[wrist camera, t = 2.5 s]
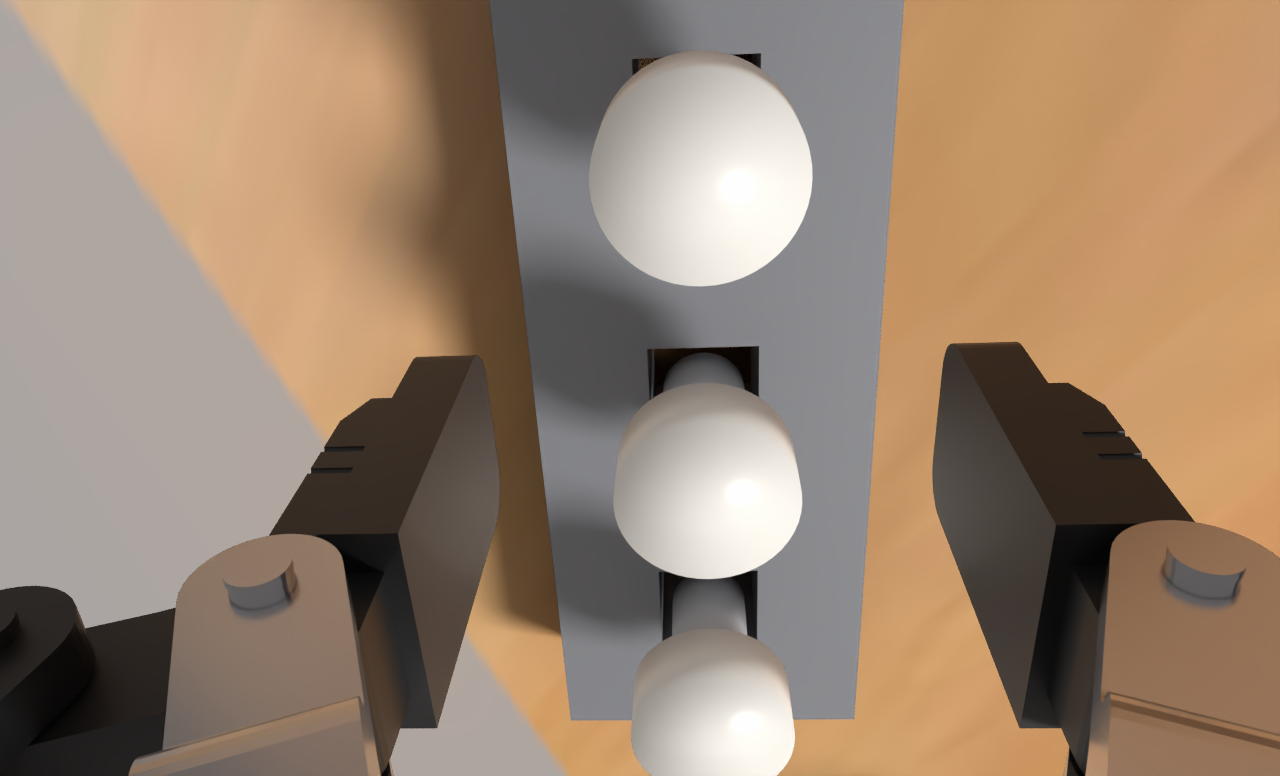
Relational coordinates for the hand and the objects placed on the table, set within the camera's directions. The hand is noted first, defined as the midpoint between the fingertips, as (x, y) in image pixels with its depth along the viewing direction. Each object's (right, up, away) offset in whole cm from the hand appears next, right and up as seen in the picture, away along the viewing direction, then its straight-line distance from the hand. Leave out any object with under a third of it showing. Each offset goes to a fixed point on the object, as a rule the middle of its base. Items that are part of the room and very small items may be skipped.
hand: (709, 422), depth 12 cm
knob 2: (+1, -7, +22) cm, 23 cm away
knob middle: (+1, 0, +18) cm, 18 cm away
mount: (+1, +2, +21) cm, 21 cm away
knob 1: (+1, +7, +14) cm, 16 cm away
